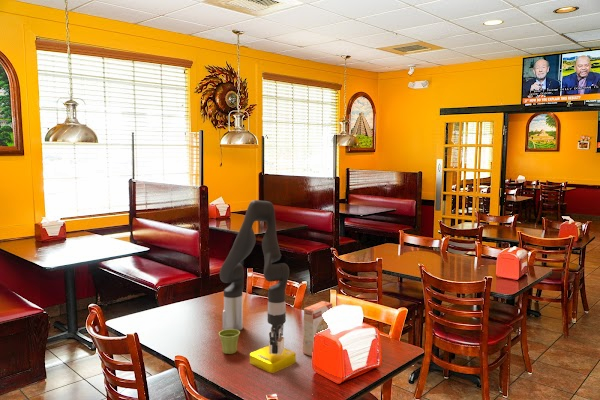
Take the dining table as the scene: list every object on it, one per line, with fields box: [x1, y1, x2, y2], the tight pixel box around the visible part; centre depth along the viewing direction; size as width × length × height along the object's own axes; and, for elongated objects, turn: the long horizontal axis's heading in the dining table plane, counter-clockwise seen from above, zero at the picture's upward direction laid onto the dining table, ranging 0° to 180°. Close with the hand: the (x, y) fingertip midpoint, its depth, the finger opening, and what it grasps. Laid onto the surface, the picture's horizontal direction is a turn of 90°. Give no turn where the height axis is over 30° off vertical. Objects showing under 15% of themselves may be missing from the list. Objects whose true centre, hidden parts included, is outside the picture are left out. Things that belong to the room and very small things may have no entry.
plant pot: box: [218, 329, 241, 355], centre depth 216 cm, size 9×9×9 cm
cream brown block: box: [268, 336, 285, 355], centre depth 202 cm, size 5×5×6 cm
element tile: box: [249, 345, 297, 374], centre depth 206 cm, size 15×15×5 cm
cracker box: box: [302, 300, 333, 357], centre depth 216 cm, size 14×6×21 cm, turn 140°
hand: (276, 350), depth 203 cm, fingers closed on cream brown block, 5 cm apart
